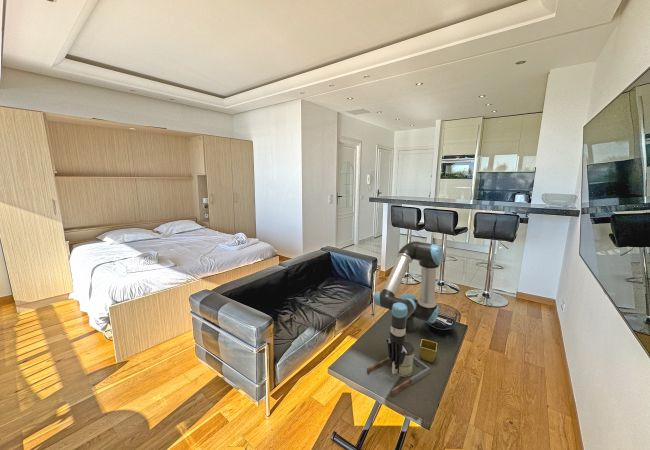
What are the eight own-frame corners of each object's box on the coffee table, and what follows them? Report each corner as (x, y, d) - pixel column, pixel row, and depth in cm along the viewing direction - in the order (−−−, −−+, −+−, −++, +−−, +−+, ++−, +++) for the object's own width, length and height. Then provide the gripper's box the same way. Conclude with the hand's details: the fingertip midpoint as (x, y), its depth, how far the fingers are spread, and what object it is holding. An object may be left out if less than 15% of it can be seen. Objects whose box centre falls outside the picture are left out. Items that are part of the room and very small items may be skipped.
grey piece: (403, 353, 155) (403, 349, 154) (429, 373, 140) (430, 368, 140) (385, 363, 147) (385, 358, 146) (411, 384, 132) (411, 379, 132)
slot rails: (385, 363, 147) (385, 358, 146) (411, 384, 132) (411, 379, 132) (366, 372, 140) (367, 368, 139) (391, 396, 125) (392, 391, 124)
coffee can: (389, 370, 142) (391, 347, 139) (398, 360, 149) (399, 338, 147) (407, 380, 135) (409, 356, 132) (415, 369, 143) (417, 346, 140)
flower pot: (420, 351, 157) (421, 338, 155) (435, 356, 153) (437, 342, 152) (418, 360, 149) (419, 346, 148) (434, 365, 146) (436, 351, 144)
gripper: (383, 328, 137) (380, 367, 141) (402, 342, 126) (399, 383, 130) (393, 324, 141) (390, 362, 145) (412, 337, 130) (409, 377, 134)
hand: (394, 372), depth 138 cm, fingers closed
